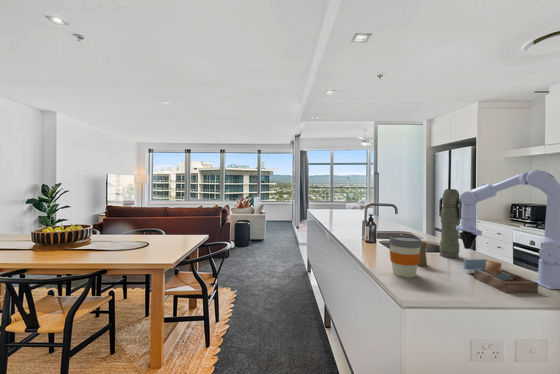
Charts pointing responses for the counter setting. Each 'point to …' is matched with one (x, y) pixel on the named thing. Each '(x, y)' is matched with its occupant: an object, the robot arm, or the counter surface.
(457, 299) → the counter surface
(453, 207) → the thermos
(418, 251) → the reusable coffee cup
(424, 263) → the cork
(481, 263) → the tray
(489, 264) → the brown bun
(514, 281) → the caddy
